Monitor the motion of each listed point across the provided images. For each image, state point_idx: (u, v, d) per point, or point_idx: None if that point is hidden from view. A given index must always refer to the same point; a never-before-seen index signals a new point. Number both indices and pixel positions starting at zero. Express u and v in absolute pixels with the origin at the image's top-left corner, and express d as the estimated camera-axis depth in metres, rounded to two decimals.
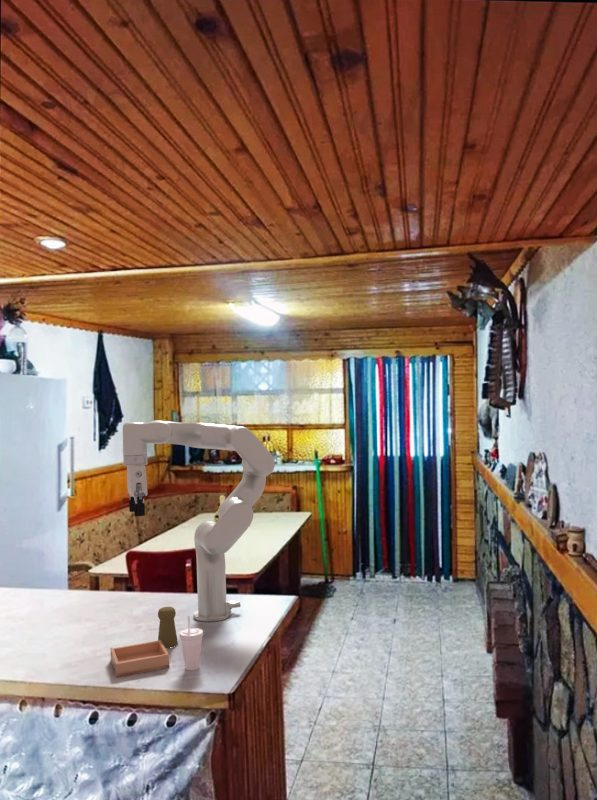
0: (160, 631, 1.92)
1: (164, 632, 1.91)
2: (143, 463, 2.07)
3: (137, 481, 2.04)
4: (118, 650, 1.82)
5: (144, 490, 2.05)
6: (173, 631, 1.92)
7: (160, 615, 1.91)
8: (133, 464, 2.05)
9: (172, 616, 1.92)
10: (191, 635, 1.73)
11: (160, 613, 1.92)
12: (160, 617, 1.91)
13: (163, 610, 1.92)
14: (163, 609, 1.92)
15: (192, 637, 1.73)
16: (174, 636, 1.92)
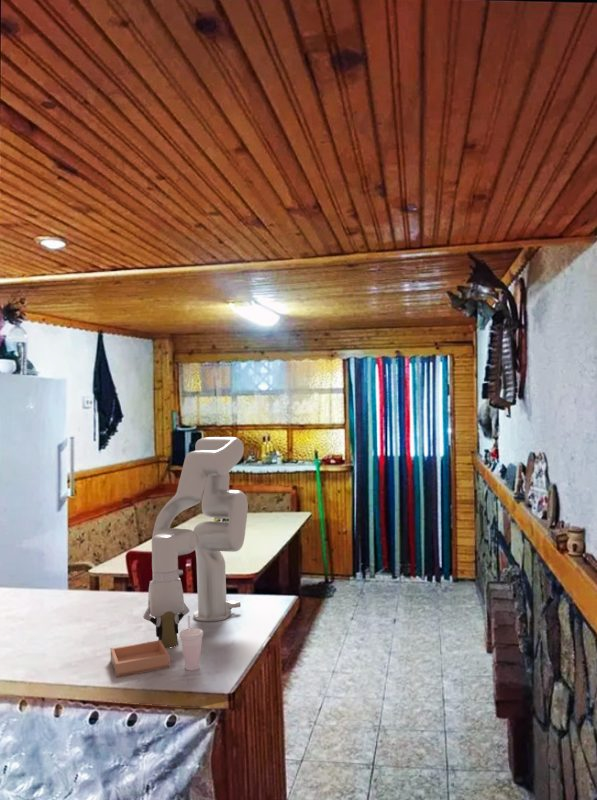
0: None
1: (164, 632, 1.91)
2: None
3: None
4: (118, 650, 1.82)
5: None
6: (174, 631, 1.92)
7: None
8: (178, 578, 1.94)
9: (172, 616, 1.92)
10: (191, 635, 1.73)
11: None
12: None
13: None
14: None
15: (192, 637, 1.73)
16: (174, 636, 1.92)
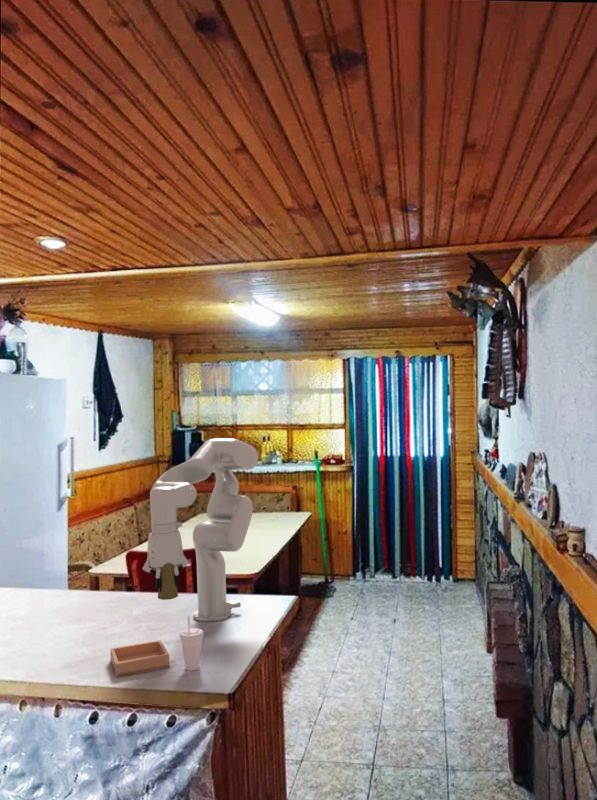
0: None
1: (164, 584, 1.92)
2: None
3: None
4: (118, 650, 1.82)
5: None
6: (174, 582, 1.93)
7: None
8: (177, 530, 1.94)
9: (172, 568, 1.92)
10: (191, 635, 1.73)
11: None
12: (160, 569, 1.92)
13: None
14: None
15: (192, 637, 1.73)
16: (174, 587, 1.93)
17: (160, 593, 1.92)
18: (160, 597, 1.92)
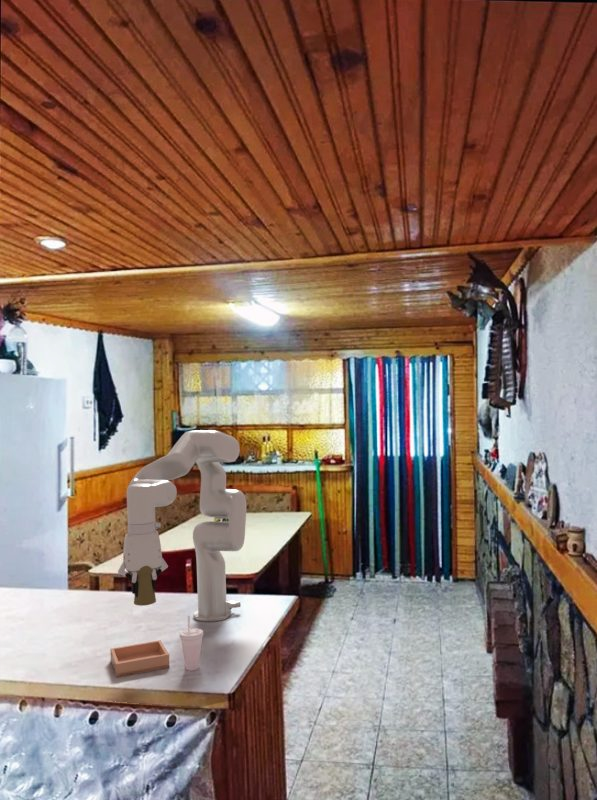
0: None
1: (140, 588, 1.78)
2: None
3: None
4: (118, 650, 1.82)
5: None
6: (151, 587, 1.79)
7: None
8: (155, 531, 1.80)
9: (150, 571, 1.79)
10: (191, 635, 1.73)
11: None
12: (137, 572, 1.78)
13: None
14: None
15: (192, 637, 1.73)
16: (152, 592, 1.79)
17: (136, 598, 1.78)
18: (136, 603, 1.78)
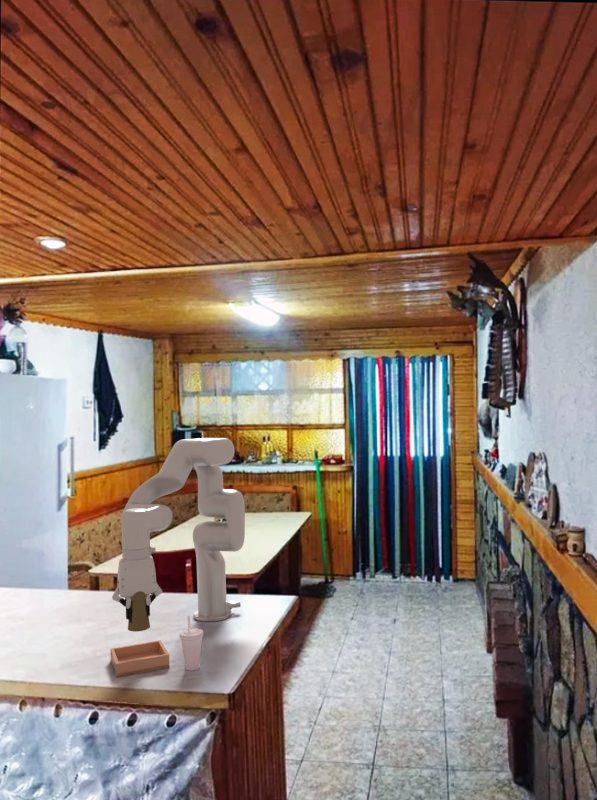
0: None
1: (134, 614, 1.77)
2: None
3: None
4: (118, 650, 1.82)
5: None
6: (145, 612, 1.78)
7: None
8: (150, 556, 1.80)
9: (144, 597, 1.78)
10: (191, 635, 1.73)
11: None
12: (131, 598, 1.77)
13: None
14: None
15: (192, 637, 1.73)
16: (146, 618, 1.78)
17: (130, 624, 1.77)
18: (130, 628, 1.77)
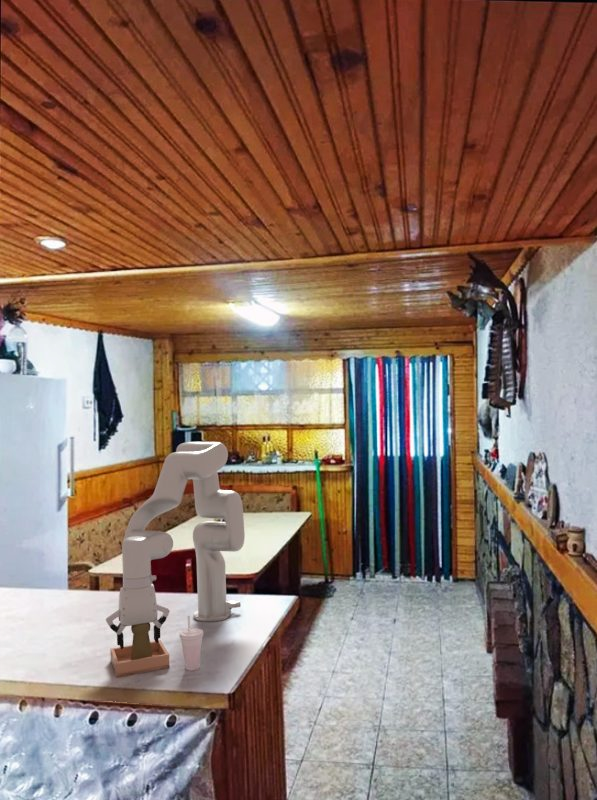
0: (133, 646, 1.78)
1: (137, 647, 1.77)
2: None
3: None
4: (118, 650, 1.82)
5: None
6: (148, 646, 1.79)
7: (133, 629, 1.78)
8: (151, 584, 1.80)
9: (146, 630, 1.78)
10: (191, 635, 1.73)
11: (133, 627, 1.78)
12: (133, 631, 1.78)
13: None
14: None
15: (192, 637, 1.73)
16: (149, 651, 1.79)
17: (133, 658, 1.78)
18: None
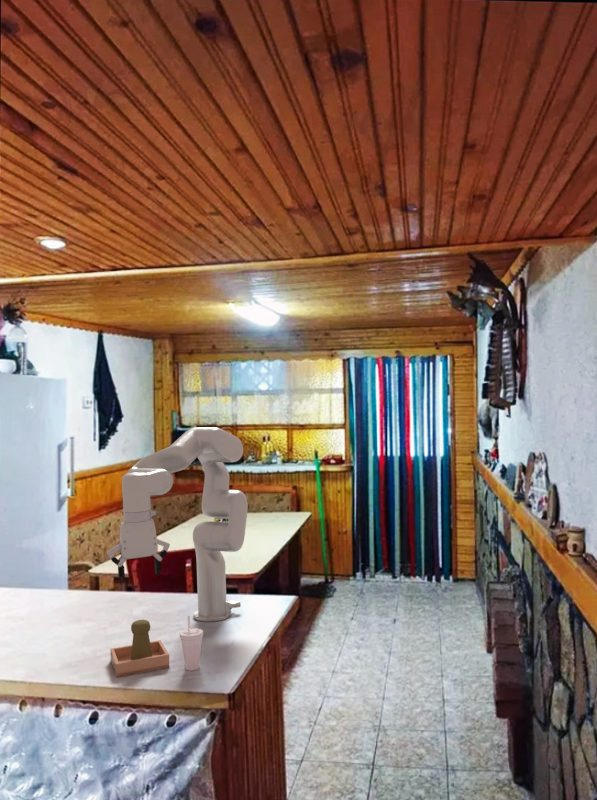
0: (133, 646, 1.78)
1: (137, 647, 1.77)
2: None
3: None
4: (118, 650, 1.82)
5: None
6: (148, 646, 1.79)
7: (133, 629, 1.78)
8: (151, 519, 1.83)
9: (146, 630, 1.78)
10: (191, 635, 1.73)
11: (133, 627, 1.78)
12: (133, 631, 1.78)
13: (137, 623, 1.78)
14: (137, 622, 1.79)
15: (192, 637, 1.73)
16: (149, 651, 1.79)
17: (133, 658, 1.78)
18: None
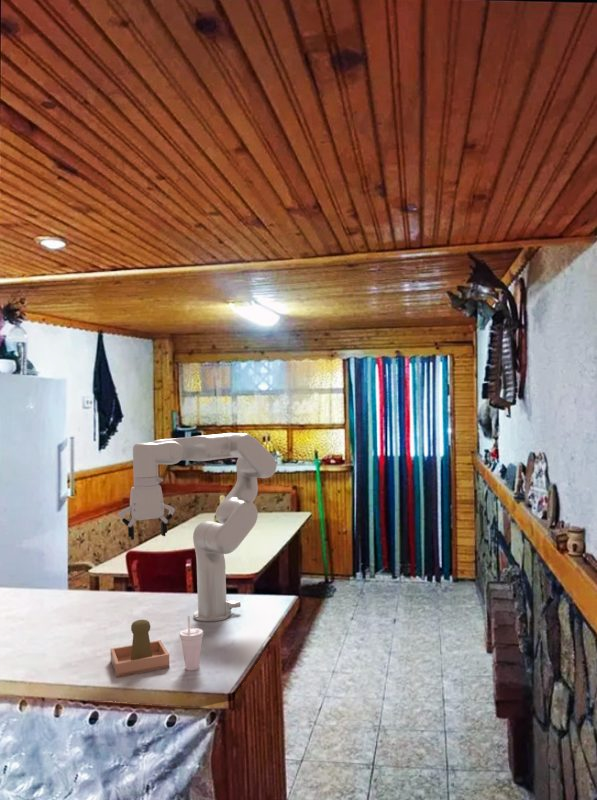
0: (133, 646, 1.78)
1: (137, 647, 1.77)
2: None
3: None
4: (118, 650, 1.82)
5: None
6: (148, 646, 1.79)
7: (133, 629, 1.78)
8: (158, 484, 2.03)
9: (146, 630, 1.78)
10: (191, 635, 1.73)
11: (133, 627, 1.78)
12: (133, 631, 1.78)
13: (137, 623, 1.78)
14: (137, 622, 1.79)
15: (192, 637, 1.73)
16: (149, 651, 1.79)
17: (133, 658, 1.78)
18: None
